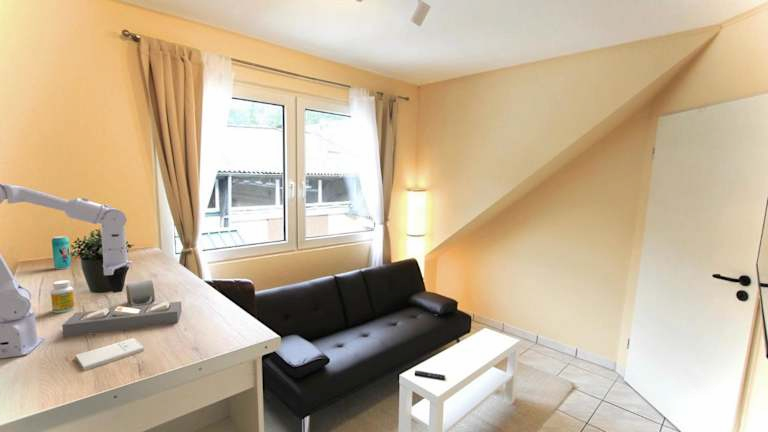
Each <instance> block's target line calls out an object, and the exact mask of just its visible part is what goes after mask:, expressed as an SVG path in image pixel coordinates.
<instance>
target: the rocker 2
mask: <svg viewBox="0 0 768 432" xmlns="http://www.w3.org/2000/svg"><path fill="white" fill-rule="evenodd" d="M127 307H128V306H127ZM127 307H126V306H120V305H119V306H117V307H116V308H114V309H115V311H114V314H113V315H117V316H119V315H127V314H136V313H139V311H140V310H141V309H134V308H127Z"/></svg>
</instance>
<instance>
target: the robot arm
mask: <svg viewBox="0 0 768 432" xmlns="http://www.w3.org/2000/svg"><path fill="white" fill-rule="evenodd" d="M5 200H7V204H16V203H29V204H33V205H36V206H37V205H38V206H40V207H46V208H51V209H54V210H58V211H62V212H64V213H65V215H66V217H67V218H71V219H75V220H78V221H83V222H87V223H92V224H95V225H96V224H101V235H100V236H101V246H102V247H101V248H102V249H101V250H102V260H103V263H102V268H103V271H102V275H103V276H104V278H105V279H106V280H107V281H108V284H109V286H110V289H111V291H112V293H114V294H115V293H121V292H123V290H124V287H125V286H124V285H125V280H126V275H127V273H128V271H129V269H130V267H129V266H127V265H131V264H132V263H133V260H128V252H127V251H128V250H127V236H126V228H125V225H126V223H127V220H128V219H127V216H126V215H125V213H124V212H123V211H122V210H120V209H118V208H115V207H113V206H109V204H106V203H104V204H101V203H96V202H94V201H90V199H89V198H87V197H82V198H79V197H76V198H72V199H65V198H61V197H58V196H56V195H52V194H48V193H45V192H42V191H38V190H35V189H32V188H28V187H25V186H21V185H16V184H11V183H5V182H3V183H0V204H2V203H3V202H4V201H5ZM31 299H32V295H31V292H30V291H29V289H27V288H25V287H23V286H22V285H21V284H20V283H19V281H18V280H17V279H16V278H15V276H14V275H13V273H12V271H11V269H10V267H9V266H8V264H7V262H6V261H5V259H4V257H3V255H2V253H1V252H0V359H7V358H14V357H20V356H21V357H22V356H27V355H29V354H30V353H31V352H32V351H33V350H35V348H36V347H38V345H40V344H41V343H42V342H43V341H44V340H45V339H46V337H45V336H41V337H38V331H37V324H36V322H37V321H36V313H35V309H33V308H31V307H32V303H31Z"/></svg>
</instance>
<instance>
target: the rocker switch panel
mask: <svg viewBox="0 0 768 432" xmlns="http://www.w3.org/2000/svg"><path fill="white" fill-rule="evenodd" d="M158 304H159V303H155V304H154V303H153V304H149V305H143V306H127V308H134V309H141V310H140V311H139V313H136V314H127V315H119V316H117V315H113V314H114V311H115V309H116V308H108V310H109V312H108V313H107V315H106V316H104V317H101V318H93V319H84V320H81V319H82V318H83V317H84V316H85V315H88V314H90V313H93V312H96V311H99V310H100V309H99V310H98V309H97V310H91V311H90V310H89V311H88V310H87V311H82V312H75V313H74V314H73V315H72V316H71V317H69V318H68V319H67V320H66V321H65V322H64V323H63V324H61V325H62V335H63V338H68V337H74V336H82V335H90V334H91V335H93V334H98V333H106V332H114V331H122V330H128V329H136V328H144V327H153V326H160V325H168V324H174V323H179V320H180V317H181V314H182V310H183V309H182V301H171V302H169V304H170V305H169V307H168V309H166V310H162V311H153V312H146V310H147V309H148V308H151V307H153V306H156V305H158Z"/></svg>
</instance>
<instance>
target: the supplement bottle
mask: <svg viewBox="0 0 768 432" xmlns="http://www.w3.org/2000/svg"><path fill="white" fill-rule="evenodd" d="M70 283H71V282H70V280H68V279H66V280H65V279H64V280H57V281H55V282H52V288H53V289H51V290H50V296H51V298H50V299H51V307H52V312H53V313H56V314H57V313H66V312H70V311H72V310H74V309H75V299H74V298H75V297H74V288H73V287H72V286H70V285H71V284H70Z"/></svg>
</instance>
